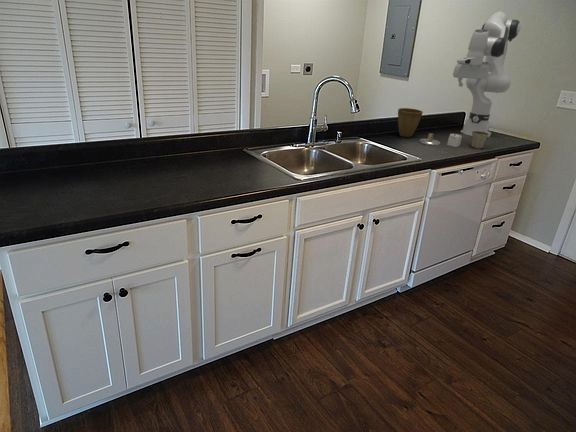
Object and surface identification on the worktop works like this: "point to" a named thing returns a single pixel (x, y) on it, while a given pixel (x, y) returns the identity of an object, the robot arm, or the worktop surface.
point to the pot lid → (429, 140)
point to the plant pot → (408, 121)
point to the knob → (454, 140)
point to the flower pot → (478, 139)
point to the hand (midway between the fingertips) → (467, 86)
